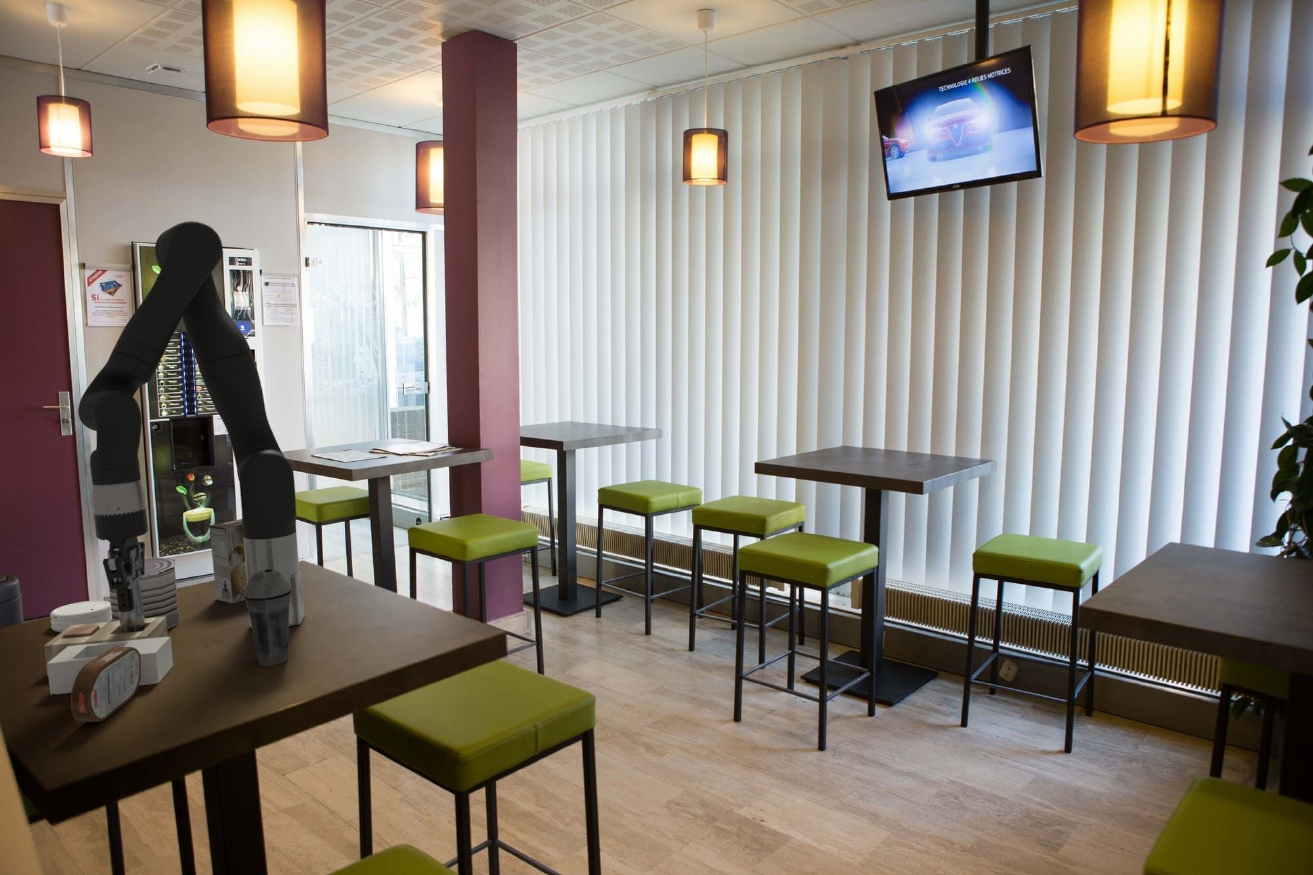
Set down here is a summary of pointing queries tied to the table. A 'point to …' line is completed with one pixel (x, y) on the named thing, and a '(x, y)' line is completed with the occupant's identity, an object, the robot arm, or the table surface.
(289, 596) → the beverage cup
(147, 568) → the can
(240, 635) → the table surface
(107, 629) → the socket block
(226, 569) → the coffee box
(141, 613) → the stepped metal cylinder
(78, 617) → the white round container
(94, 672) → the tin
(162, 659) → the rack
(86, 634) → the key
